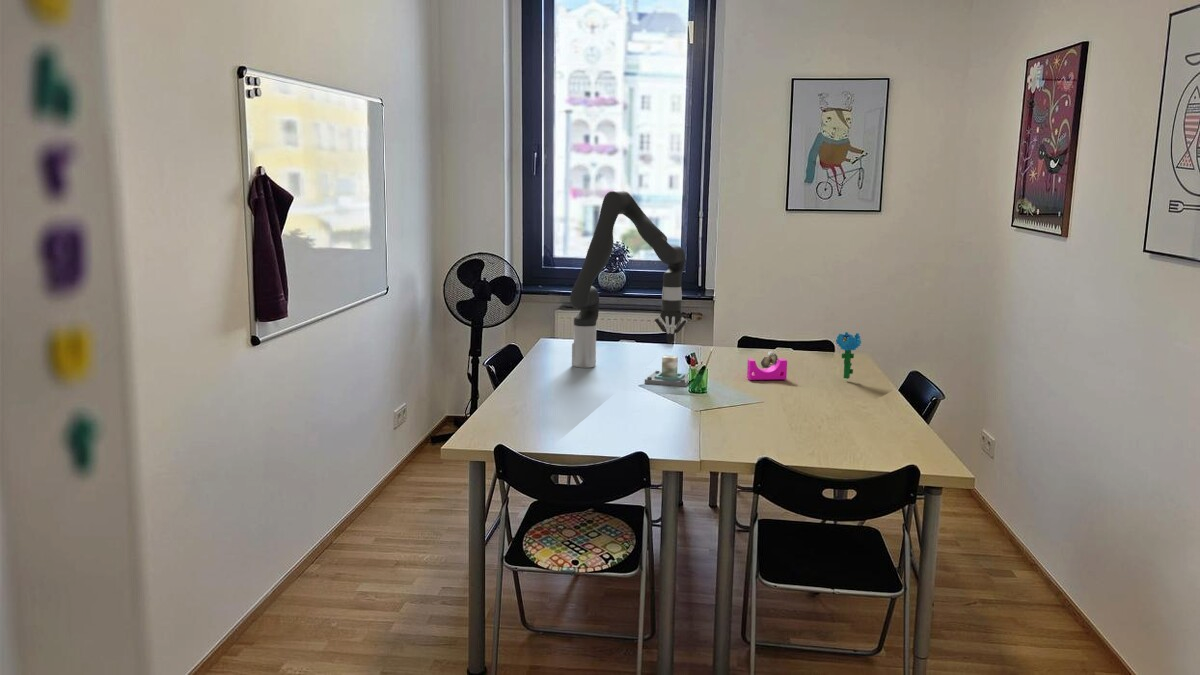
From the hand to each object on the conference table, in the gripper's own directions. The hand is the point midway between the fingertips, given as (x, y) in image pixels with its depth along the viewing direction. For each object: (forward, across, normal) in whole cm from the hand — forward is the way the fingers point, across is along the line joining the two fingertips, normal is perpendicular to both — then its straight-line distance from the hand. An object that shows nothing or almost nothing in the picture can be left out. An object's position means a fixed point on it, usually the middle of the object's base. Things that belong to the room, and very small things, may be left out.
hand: (670, 343), depth 348 cm
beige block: (+14, 0, 0) cm, 14 cm away
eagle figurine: (+12, +34, +49) cm, 61 cm away
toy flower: (+15, +65, +31) cm, 74 cm away
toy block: (+15, +34, +21) cm, 43 cm away
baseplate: (+15, 0, 0) cm, 15 cm away
